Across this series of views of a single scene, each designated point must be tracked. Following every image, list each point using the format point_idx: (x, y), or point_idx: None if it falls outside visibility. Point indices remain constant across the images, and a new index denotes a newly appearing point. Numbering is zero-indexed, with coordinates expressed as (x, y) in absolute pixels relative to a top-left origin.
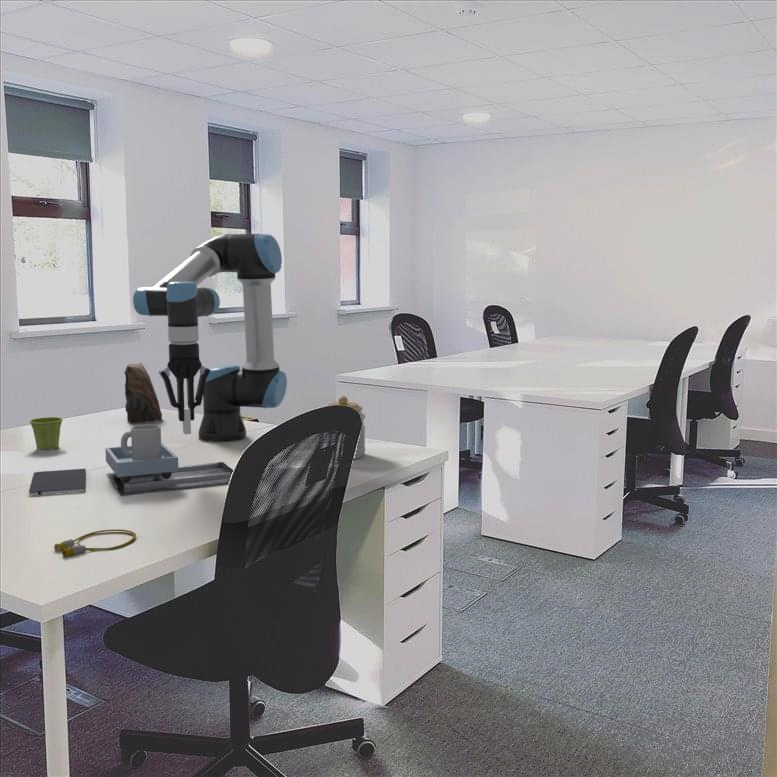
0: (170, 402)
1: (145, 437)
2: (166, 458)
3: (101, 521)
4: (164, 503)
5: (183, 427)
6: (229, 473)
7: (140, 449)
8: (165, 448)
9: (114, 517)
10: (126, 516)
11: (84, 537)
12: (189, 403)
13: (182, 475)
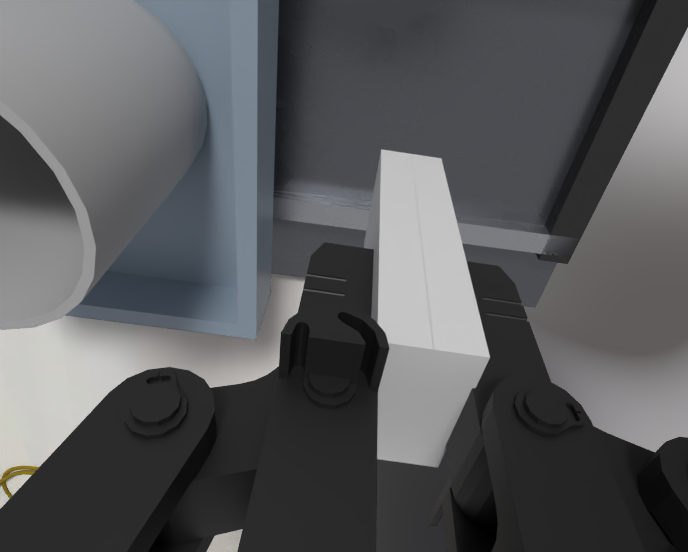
0: (80, 460)
1: (1, 277)
2: (193, 331)
3: (27, 415)
4: (197, 372)
5: (375, 205)
6: (535, 251)
7: (19, 206)
8: (234, 67)
9: (56, 406)
10: (87, 412)
11: (9, 472)
12: (450, 549)
13: (358, 83)
